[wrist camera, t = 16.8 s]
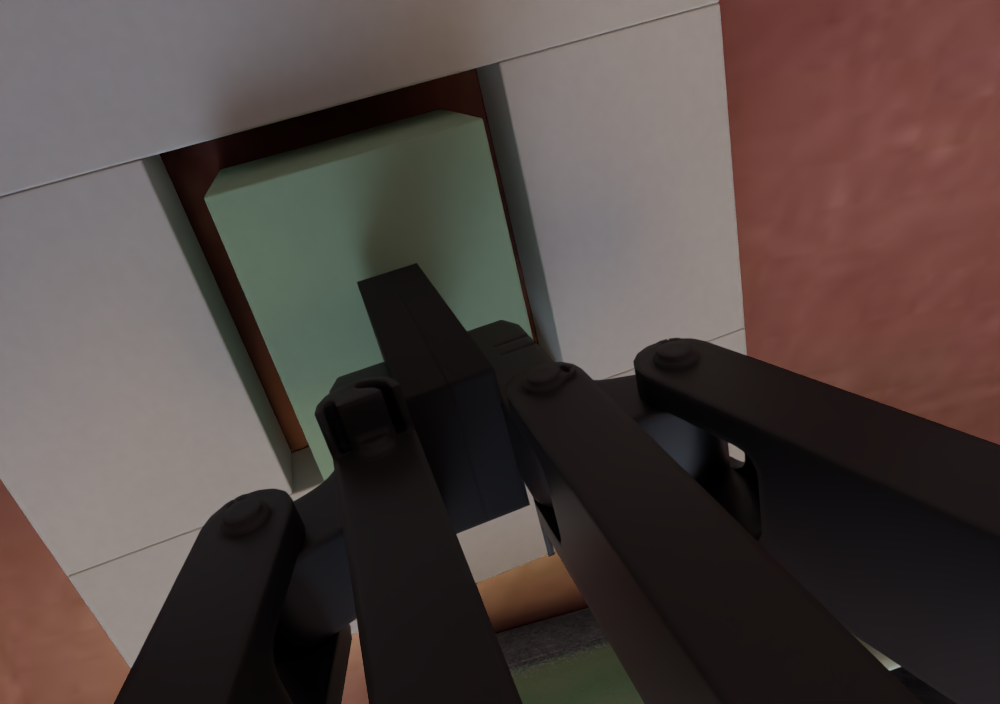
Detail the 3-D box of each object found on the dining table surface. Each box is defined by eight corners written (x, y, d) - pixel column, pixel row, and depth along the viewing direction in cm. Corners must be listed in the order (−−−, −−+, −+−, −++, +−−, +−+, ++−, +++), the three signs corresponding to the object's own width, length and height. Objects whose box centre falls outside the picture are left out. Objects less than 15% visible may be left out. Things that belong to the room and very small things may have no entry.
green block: (218, 170, 19) (202, 196, 15) (441, 108, 20) (483, 117, 16) (317, 412, 22) (326, 486, 18) (502, 348, 23) (548, 405, 19)
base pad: (-281, -52, 14) (-382, -75, 12) (647, -236, 18) (699, -278, 16) (171, 654, 24) (160, 713, 22) (718, 438, 28) (756, 469, 25)
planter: (392, 769, 29) (424, 964, 23) (370, 643, 26) (399, 826, 20) (909, 605, 36) (1046, 720, 30) (936, 491, 33) (1093, 591, 27)
